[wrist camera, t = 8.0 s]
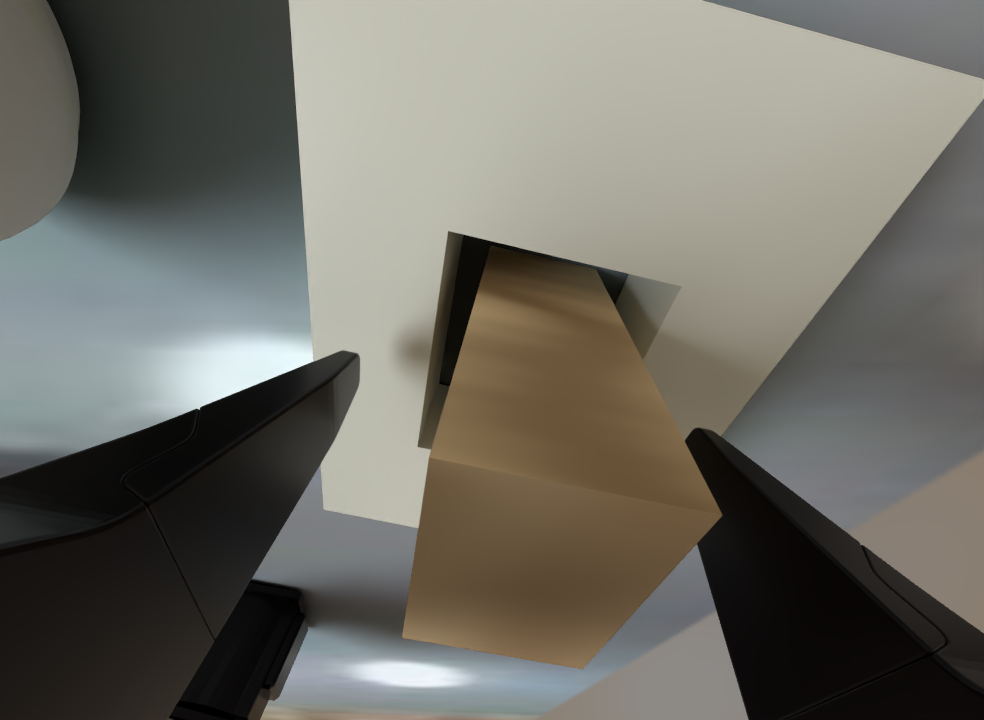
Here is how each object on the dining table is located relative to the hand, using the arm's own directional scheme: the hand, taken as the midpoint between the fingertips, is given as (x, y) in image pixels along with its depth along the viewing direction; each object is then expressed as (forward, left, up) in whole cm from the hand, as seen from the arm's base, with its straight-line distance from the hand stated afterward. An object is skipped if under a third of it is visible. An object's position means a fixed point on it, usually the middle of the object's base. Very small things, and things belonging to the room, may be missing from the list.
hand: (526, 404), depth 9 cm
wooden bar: (0, 0, -4) cm, 4 cm away
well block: (0, 0, -4) cm, 4 cm away
